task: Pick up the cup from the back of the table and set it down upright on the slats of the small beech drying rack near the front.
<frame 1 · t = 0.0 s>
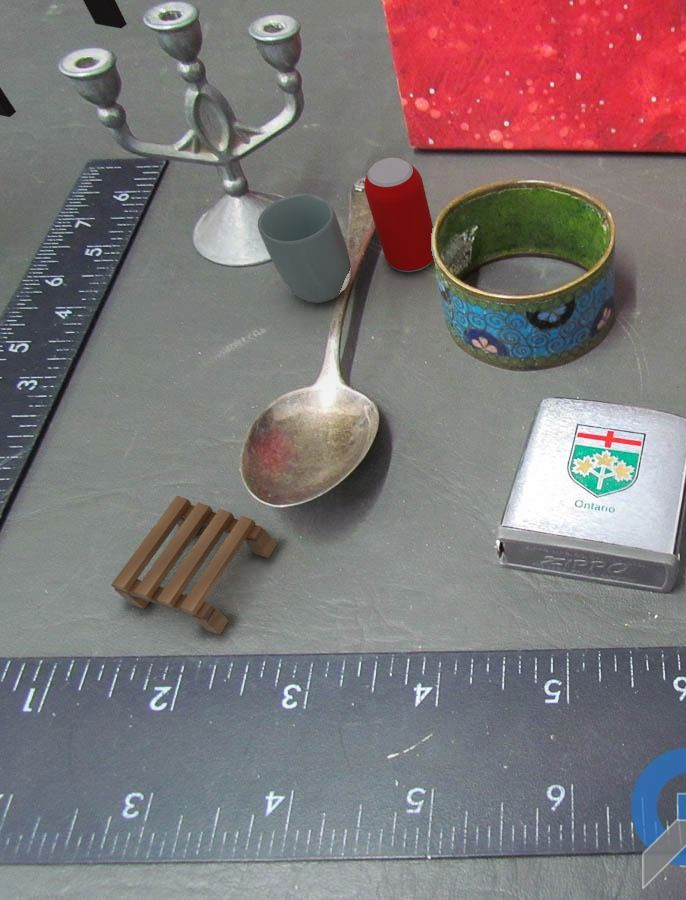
hand: (58, 66, 67), 29 cm above the table, tool pointing down, fingers open, 13 cm apart
beverage can: (413, 259, 96), on the table
cup: (324, 289, 93), on the table
rack: (205, 574, 73), on the table
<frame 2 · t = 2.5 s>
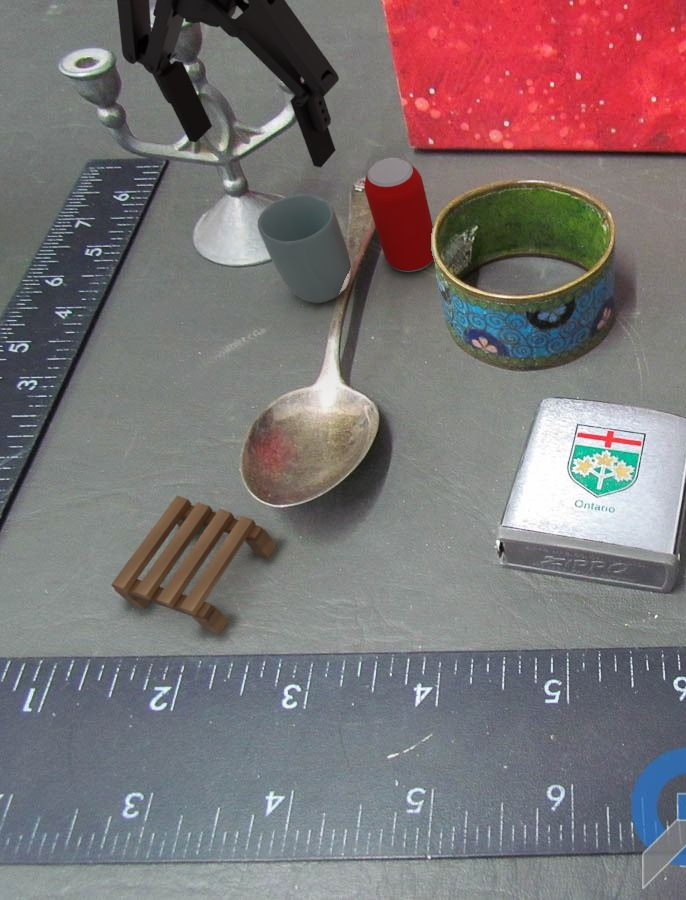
hand: (261, 146, 78), 19 cm above the table, tool pointing down, fingers open, 13 cm apart
nothing on the table moved.
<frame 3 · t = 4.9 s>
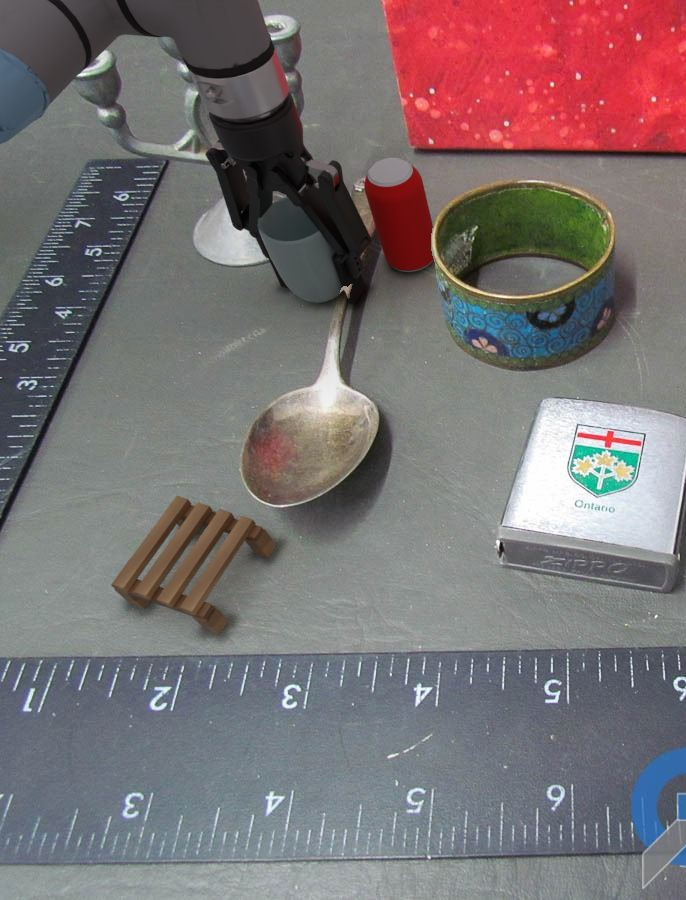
hand: (323, 286, 93), 0 cm above the table, tool pointing down, fingers closed on cup, 8 cm apart
cup: (324, 289, 93), on the table, touching gripper
everything else where it was.
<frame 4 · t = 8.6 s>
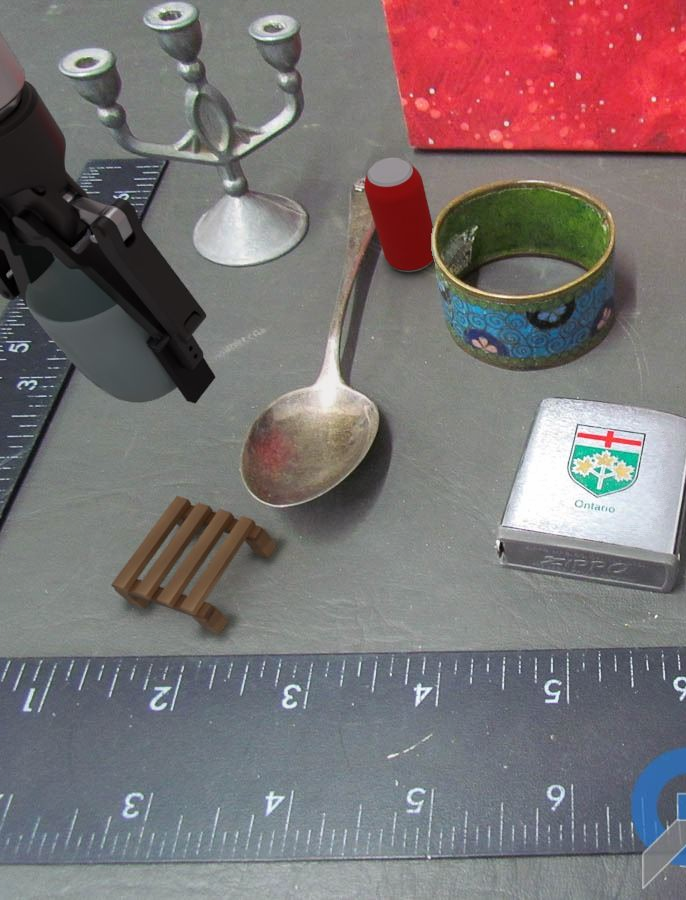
hand: (153, 376, 63), 17 cm above the table, tool pointing down, fingers closed on cup, 8 cm apart
cup: (156, 379, 63), point 17 cm above the table, touching gripper
everything else where it was.
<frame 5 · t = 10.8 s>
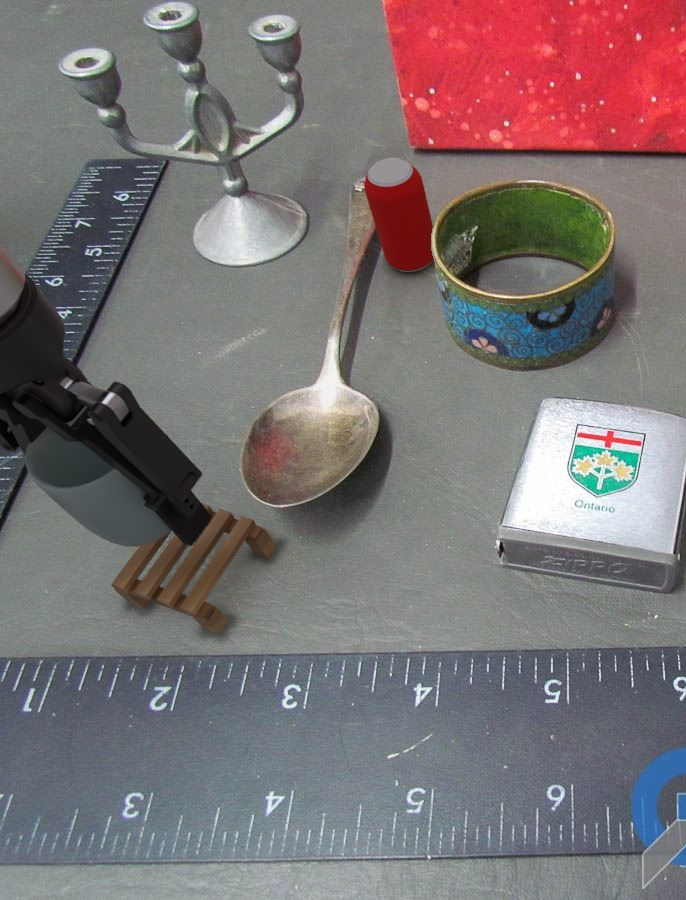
hand: (151, 514, 64), 10 cm above the table, tool pointing down, fingers closed on cup, 8 cm apart
cup: (153, 517, 64), point 10 cm above the table, touching gripper
everything else where it was.
when the fingers open (5 cm above the table, at t = 12.5 s): cup stays where it is, resting on rack.
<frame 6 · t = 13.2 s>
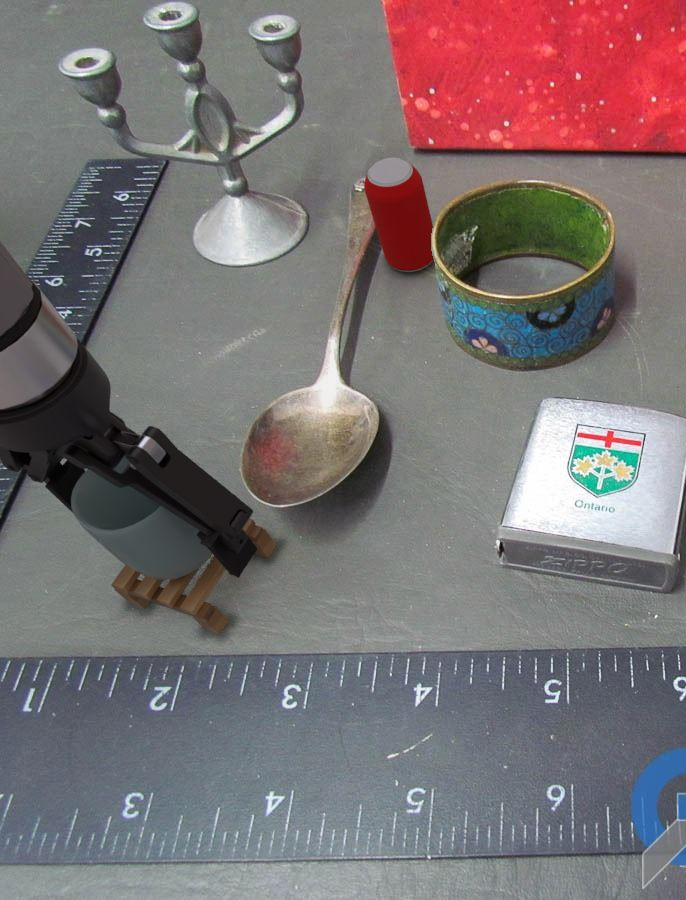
hand: (172, 538, 67), 6 cm above the table, tool pointing down, fingers open, 13 cm apart
cup: (184, 551, 69), point 4 cm above the table, touching rack
everything else where it was.
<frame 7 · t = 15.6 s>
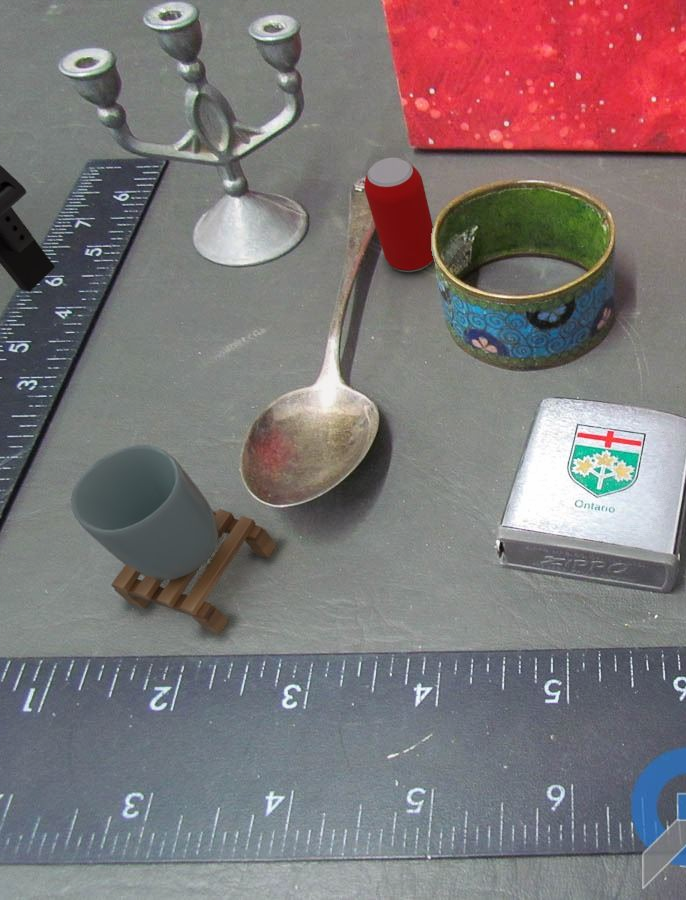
nothing on the table moved.
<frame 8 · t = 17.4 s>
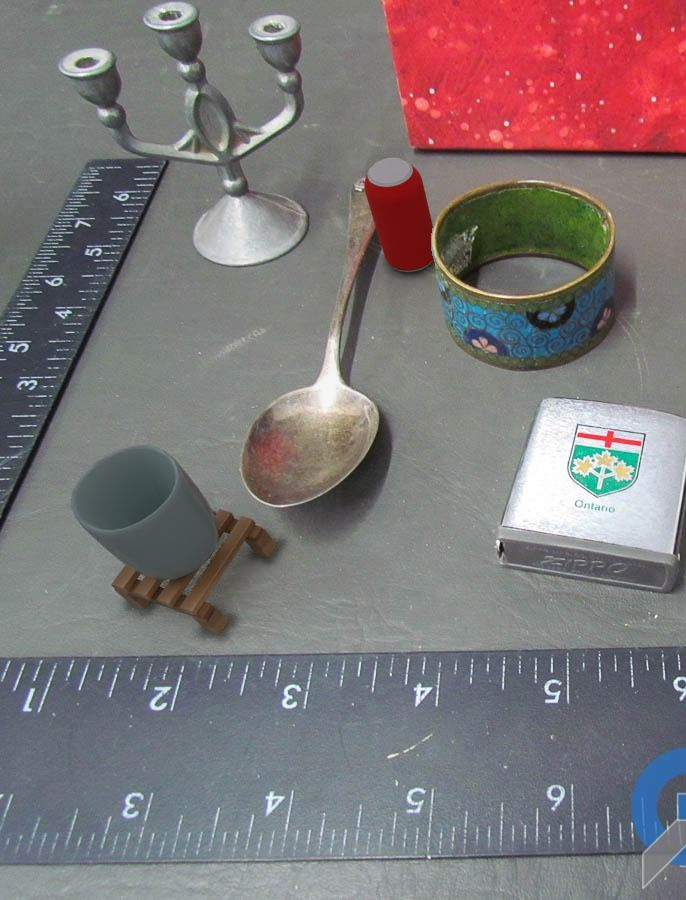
nothing on the table moved.
at the end: cup inside the target area on the rack (0.0 cm from its centre), point 4.2 cm above the rack's base; cup tilted 0°; the gripper is holding nothing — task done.
